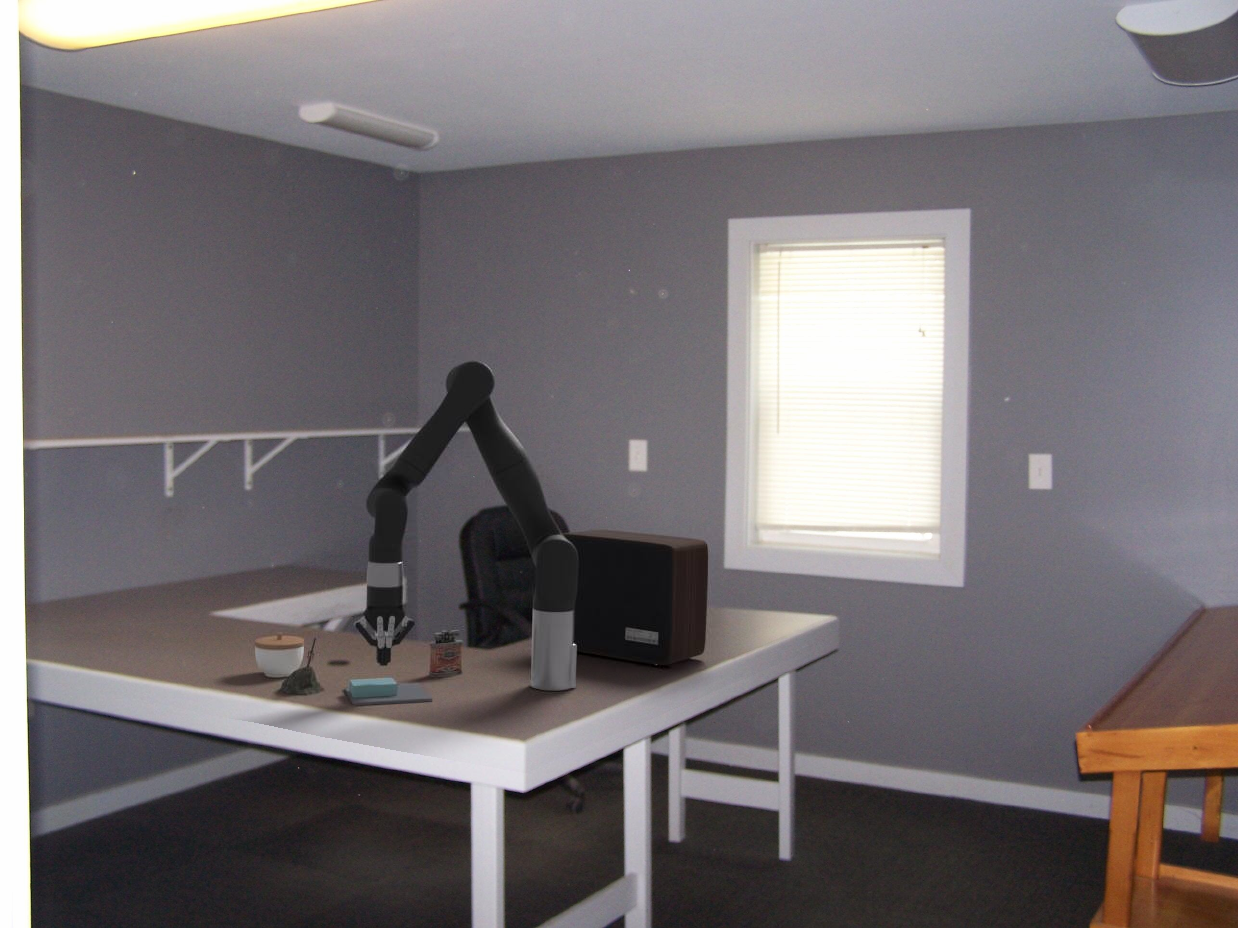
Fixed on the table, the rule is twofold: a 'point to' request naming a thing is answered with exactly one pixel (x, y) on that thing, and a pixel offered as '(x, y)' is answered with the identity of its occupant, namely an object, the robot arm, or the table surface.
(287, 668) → the lidded jar
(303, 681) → the sword in stone
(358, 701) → the mat
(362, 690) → the tile
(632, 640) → the radio
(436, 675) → the lighter
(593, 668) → the table surface
